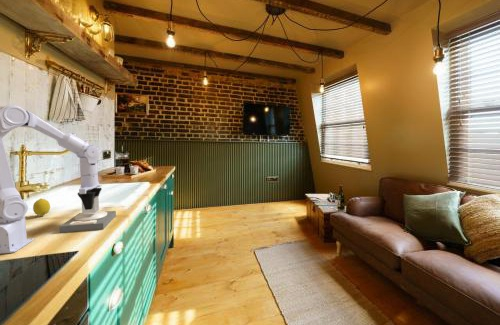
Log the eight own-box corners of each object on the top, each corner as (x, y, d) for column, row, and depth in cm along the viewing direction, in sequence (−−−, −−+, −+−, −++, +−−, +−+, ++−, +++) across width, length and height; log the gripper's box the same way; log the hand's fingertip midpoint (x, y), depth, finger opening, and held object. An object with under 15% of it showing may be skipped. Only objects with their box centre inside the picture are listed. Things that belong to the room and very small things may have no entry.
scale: (103, 229, 87) (103, 221, 87) (60, 232, 84) (59, 224, 83) (116, 216, 103) (115, 209, 103) (79, 218, 99) (79, 211, 99)
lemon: (40, 218, 98) (39, 200, 97) (30, 217, 99) (28, 199, 98) (53, 214, 104) (52, 197, 103) (44, 213, 105) (42, 196, 104)
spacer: (95, 212, 92) (94, 198, 92) (82, 213, 91) (81, 198, 91) (99, 209, 97) (98, 195, 96) (87, 210, 95) (86, 196, 95)
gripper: (93, 177, 86) (95, 212, 88) (106, 171, 100) (108, 202, 102) (71, 177, 85) (73, 213, 86) (88, 172, 99) (89, 203, 100)
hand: (91, 207), depth 94 cm, fingers closed on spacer, 4 cm apart
